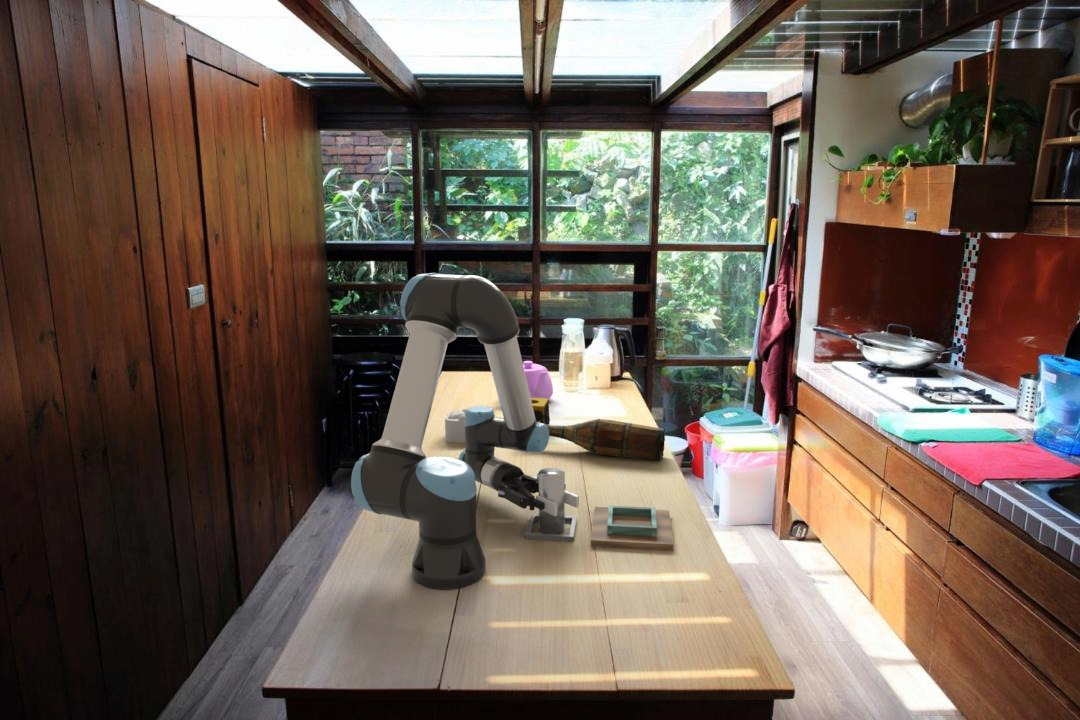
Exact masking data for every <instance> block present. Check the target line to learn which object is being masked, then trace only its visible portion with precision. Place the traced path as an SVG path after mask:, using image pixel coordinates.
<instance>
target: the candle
mask: <svg viewBox="0 0 1080 720" xmlns="http://www.w3.org/2000/svg"><path fill="white" fill-rule="evenodd" d="M531 402H532V406H533V411H534V415H535V419H536V422H540V423H543V424H547V425H548V424H549V425H550V422H551V419H550V399H547V398H531Z"/></svg>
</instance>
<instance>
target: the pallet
mask: <svg viewBox="0 0 1080 720" xmlns="http://www.w3.org/2000/svg"><path fill="white" fill-rule="evenodd" d="M593 510H594V511H593V518H592V526H591V535H590V547H594V548H595V547H598V548H601V547H602V548H616V549H633V550H649V551H651V550H653V551H654V550H655V551H668V552H670V551H672V552H673V551H674V539H673V532H672V523H671V514H670V510H669V509H656V507H648V506H647V507H645V506H626V505H621V506H620V505H608V506H607V507H606V506H594V509H593Z"/></svg>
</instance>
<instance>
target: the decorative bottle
mask: <svg viewBox="0 0 1080 720" xmlns="http://www.w3.org/2000/svg"><path fill="white" fill-rule="evenodd" d="M546 426H547V427H548V429H549V437H553V438H558V439H561V440H565V441H569V442H571V443H573V444H575V445H576V446H579V447H581V448H582V449H585V450H586V451H588V452H590V453H592V454H596V455H601V456H612V457H613V456H614V457H621V458H622V457H623V458H632V459H642V460H656V461H661V460H662V459H663V458H664V451H665V441H666V434H665V432H666V428H659V427H655V426H649V425H644V424H637V423H632V422H625V421H619V420H611V419H601V418H596V419H591V420H587V421H584V422H579V423H578V422H577V423H576V424H570V425H554V424H553V425H552V424H550V423H549V424H548V425H547V424H546Z"/></svg>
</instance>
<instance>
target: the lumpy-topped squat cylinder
mask: <svg viewBox="0 0 1080 720" xmlns="http://www.w3.org/2000/svg"><path fill="white" fill-rule="evenodd" d="M467 409H469V408H468V407H467V408H463V409H462V410H452V411H451V412H448V413H447V414H446V417H445V418H444V427H445V428H444V430H445V431H444V432H445V434H444V435H445V442H447V443H457V444H460V443H461V444H465V427H464V425H465V412H466V410H467Z"/></svg>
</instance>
